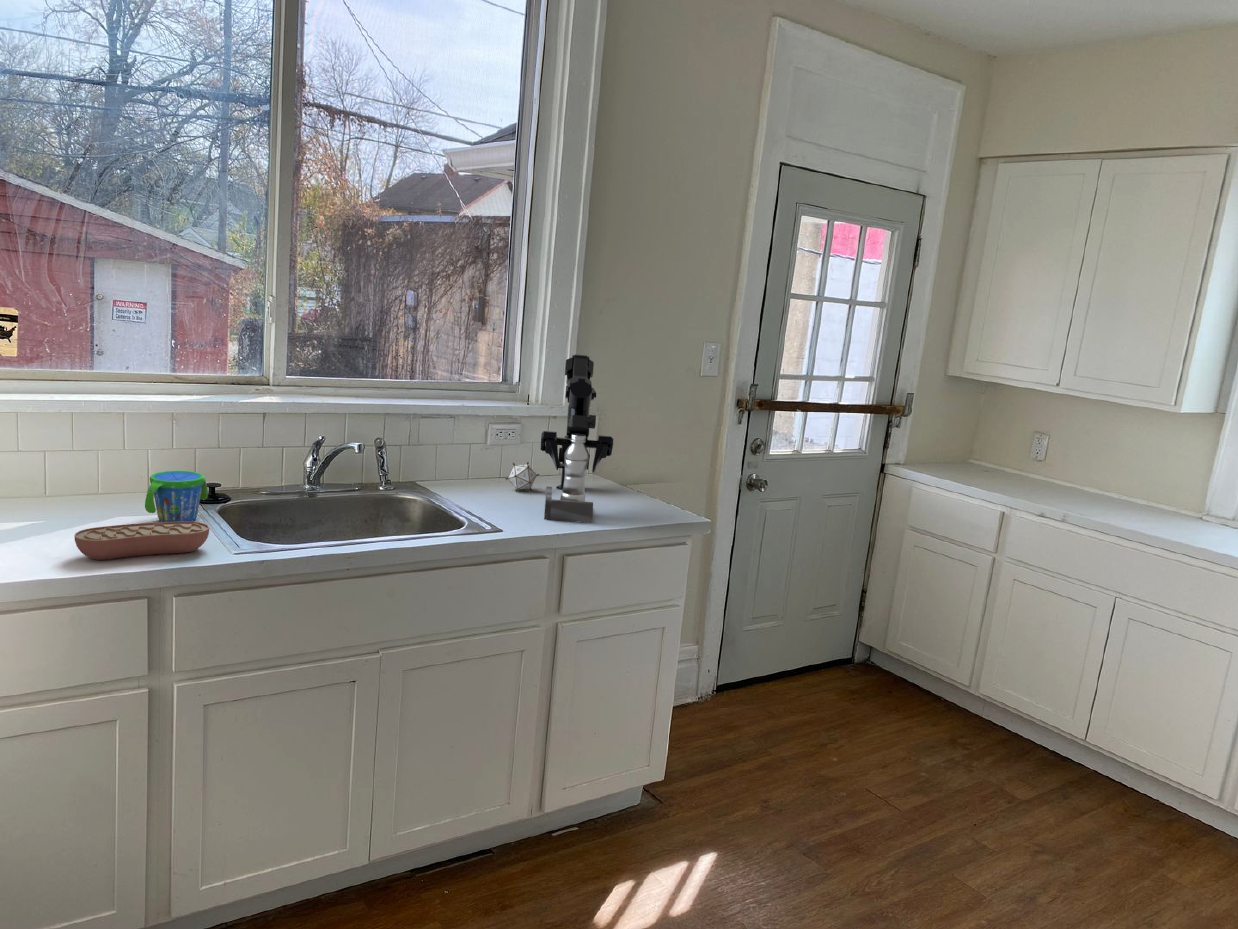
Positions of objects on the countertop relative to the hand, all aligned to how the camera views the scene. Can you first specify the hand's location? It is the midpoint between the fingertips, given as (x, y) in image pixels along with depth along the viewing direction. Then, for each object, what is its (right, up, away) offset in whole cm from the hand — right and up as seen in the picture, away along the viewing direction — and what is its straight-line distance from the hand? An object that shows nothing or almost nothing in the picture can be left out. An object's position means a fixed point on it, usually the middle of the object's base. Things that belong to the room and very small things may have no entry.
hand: (575, 470), depth 229 cm
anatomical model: (-80, -16, -57) cm, 100 cm away
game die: (-17, -6, +26) cm, 32 cm away
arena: (-2, -11, +5) cm, 12 cm away
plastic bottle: (-1, -11, +4) cm, 11 cm away
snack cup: (-85, -11, -34) cm, 92 cm away
